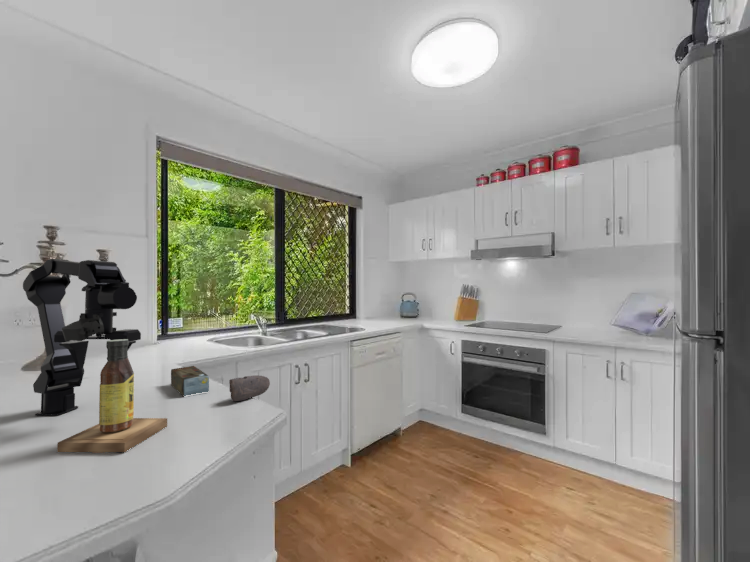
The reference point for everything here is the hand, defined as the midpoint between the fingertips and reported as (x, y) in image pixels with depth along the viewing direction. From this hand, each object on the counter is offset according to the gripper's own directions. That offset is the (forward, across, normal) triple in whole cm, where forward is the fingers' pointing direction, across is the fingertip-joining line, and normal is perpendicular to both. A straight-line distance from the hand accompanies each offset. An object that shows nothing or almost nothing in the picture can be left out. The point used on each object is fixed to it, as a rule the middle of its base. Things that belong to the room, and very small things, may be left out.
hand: (97, 369), depth 89 cm
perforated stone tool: (+13, +32, +20) cm, 40 cm away
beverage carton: (+14, +8, +29) cm, 33 cm away
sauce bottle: (+11, +14, -11) cm, 21 cm away
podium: (+13, +14, -11) cm, 22 cm away
